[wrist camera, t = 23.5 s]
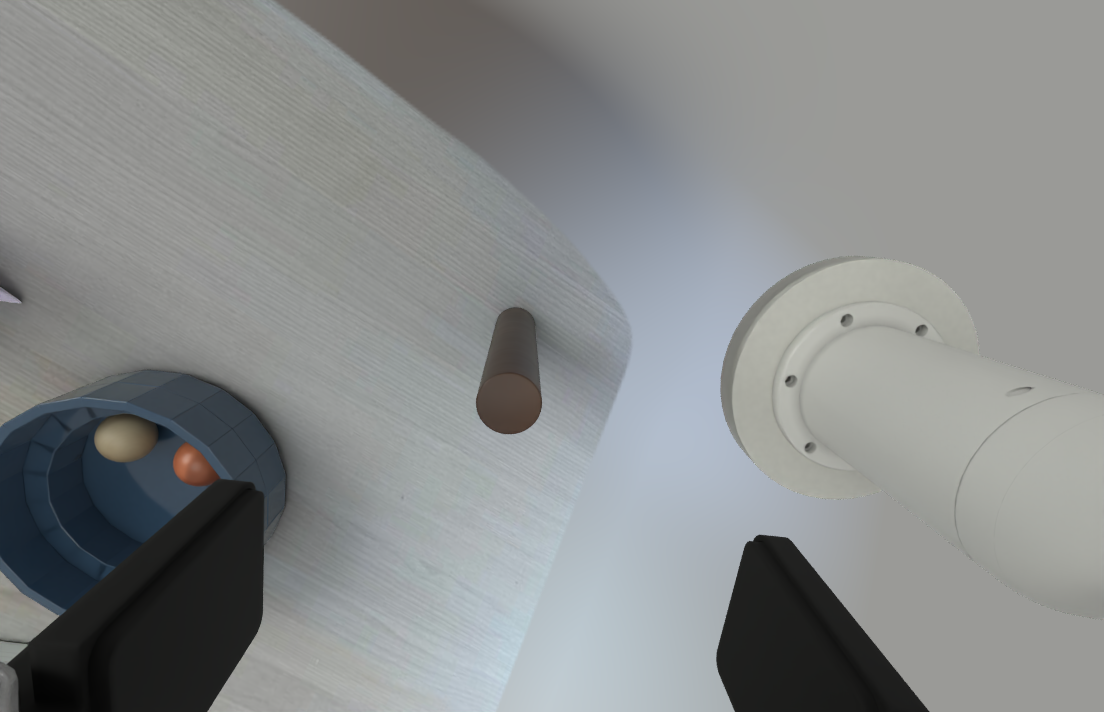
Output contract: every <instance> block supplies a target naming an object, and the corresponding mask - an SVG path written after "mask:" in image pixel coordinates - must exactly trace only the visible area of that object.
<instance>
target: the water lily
mask: <svg viewBox="0 0 1104 712" xmlns="http://www.w3.org/2000/svg"><path fill="white" fill-rule="evenodd" d="M0 301H5V302H12V303H21V301H20V300H18V299H17V298H15V297H14V296H13V295H11V294H10V293H8V292H7V291H5V290H4V289H3V288H1V287H0Z"/></svg>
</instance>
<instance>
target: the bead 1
mask: <svg viewBox="0 0 1104 712" xmlns="http://www.w3.org/2000/svg"><path fill="white" fill-rule="evenodd" d="M158 436H159V432H158V428H157V426H156V424H155V423H154V422H152V421H149V420H146V419H144V418H141V417H139V416H136V415H133V414H119V415H113V416H109V417H107V418H106V419H105V420H103V421H102V422H101V423H100V425H99V426H98V428H97V429H96V432H95V436H94V442H95V446H96V448H97V450H98V451H99V453H100V454H101V455H102V456H104V457H105V458H107V459H109V460H112V461H115V462H132V461H136V460H139V459H141V458H143V457H145V456H146V455H147V454H149V453H150V452H151V451H152V450H153V448H154V447H155V445H156V444H157V441H158Z"/></svg>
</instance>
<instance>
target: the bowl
mask: <svg viewBox="0 0 1104 712" xmlns="http://www.w3.org/2000/svg"><path fill="white" fill-rule="evenodd" d="M119 414H133V415H136V416H139V417H141V418H144V419H146V420H149V421H152V422H154V423H155V424H156V426H157V428H158V432H159V436H158V441H157V444H156V445H155V447H154V448H153V450H152V451H151V452H150V453H149V454H147V455H146V456H145V457H143V458H141V459H139V460H136V461H132V462H115V461H112V460H109V459H107V458H105V457H104V456H102V455H101V454H100V453H99V451H98V450H97V448H96V446H95V442H94V436H95V432H96V429H97V428H98V426H99V425H100V423H101V422H102V421H103V420H105V419H106V418H107V417H109V416H113V415H119ZM185 442H187V443H189V444H190V445H191V446H193V447H194V448H195V449H197V450H198V451H199V452H201V454H202V455H203V456H204V458H205V459H206V460H207V461H208V463H209V464H210V465H211V467H212V468H213V469H214V470H215V472H216V473H217V474H218V476H219V477H220V478H221V479H227V480H237V481H247V482H252V483H253V484H254V485H255V488H256V491H262V492H263V494H264V545H265V544H266V543H267V541H268V540H269V539H270V537H271V536H272V535H273V533H274V531H275V529H276V526H277V524H278V521H279V519H280V516H281V514H282V512H283V509H284V506H285V471H284V468H283V465H282V462H281V459H280V456H279V453H278V450H277V447H276V444H275V442H274V440H273V439H272V437H271V436H270V435H269V433H268V432H267V431H266V429H265V428H264V427H263V425H262V424H261V422H260V421H259V420H258V418H257V417H256V416H255V414H254V413H253V412H252V411H250V410H249V409H248V408H247V407H245V406H244V405H243V404H241V403H240V402H239V401H237V400H236V399H235V398H234V397H232V396H231V395H230V394H228V393H227V392H226V391H225V390H223V389H221V388H219V387H216V386H214V385H211V384H209V383H206V382H204V381H202V380H199V379H197V378H194V377H192V376H189V375H187V374H181V373H172V372H164V371H155V370H141V371H135V372H130V373H124V374H118V375H113V376H109V377H106V378H104V379H101V380H99V381H96V382H94V383H91V384H88V385H86V386H83V387H81V388H78V389H76V390H73V391H71V392H68V393H66V394H63V395H61V396H58V397H56V398H53V399H51V400H48V401H45V402H43V403H40V404H38V405H36V406H34V407H32V408H31V409H29V410H27V411H25V412H23V413H22V414H20V415H18V416H16V417H15V418H13V419H11V420H9V421H7V422H6V423H4V424H3V425H2V426H1V427H0V571H1V572H2V573H3V574H4V575H5V576H6V577H7V578H8V579H9V580H10V581H11V582H12V583H13V584H14V585H15V586H16V587H17V588H18V590H19V591H20V592H22V593H23V594H24V595H26V596H28V597H29V598H31V599H32V600H34V601H36V602H37V603H39V604H40V605H42V606H44V607H45V608H47V609H48V610H50V611H52V612H53V613H55V614H57V615H59V616H61V615H62V614H63V613H64V612H65V611H66V610H67V609H69V608H70V607H71V606H72V605H73V604H74V603H76V602H77V601H78V600H79V599H80V598H81V597H82V596H84V595H85V594H86V593H87V592H88V591H89V590H90V589H92V588H93V587H94V586H95V585H96V584H97V583H99V582H100V581H101V580H102V579H103V578H104V577H105V576H107V575H108V574H109V573H110V572H111V571H112V570H113V569H115V568H116V567H117V566H118V565H119V564H120V563H122V562H123V561H124V560H125V559H126V558H127V557H128V556H130V555H131V554H132V553H133V552H134V551H135V550H136V549H138V548H139V547H140V546H141V545H142V544H143V543H145V542H146V541H147V540H148V539H149V538H150V537H151V536H153V535H154V534H155V533H156V532H157V531H158V530H159V529H161V528H162V527H163V526H164V525H165V524H166V523H168V522H169V521H170V520H171V519H172V518H173V517H174V516H176V515H177V514H178V513H179V512H180V511H181V510H182V509H184V508H185V507H186V506H187V505H188V504H189V503H191V502H192V501H193V500H194V499H195V498H196V497H197V496H199V495H200V494H201V493H202V492H203V491H204V490H206V489H207V488H208V487H209V486H210V485H208V486H192V485H188V484H186V483H184V482H183V481H181V480H180V479H179V478H178V477H177V475H176V474H175V471H174V468H173V460H174V456H175V453H176V452H177V450H178V449H179V448H180V446H181V445H182V444H184V443H185Z"/></svg>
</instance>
